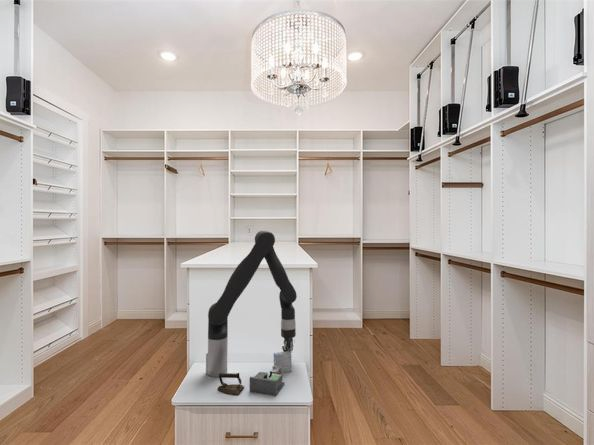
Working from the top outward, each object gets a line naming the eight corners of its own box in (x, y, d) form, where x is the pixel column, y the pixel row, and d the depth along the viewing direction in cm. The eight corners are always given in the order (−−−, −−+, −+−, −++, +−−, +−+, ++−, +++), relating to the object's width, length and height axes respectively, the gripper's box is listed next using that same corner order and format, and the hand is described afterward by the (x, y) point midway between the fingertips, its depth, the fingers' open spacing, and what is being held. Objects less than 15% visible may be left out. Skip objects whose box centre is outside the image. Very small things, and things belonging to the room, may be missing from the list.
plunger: (266, 381, 150) (266, 371, 150) (273, 373, 158) (273, 363, 158) (281, 383, 147) (281, 373, 148) (288, 375, 156) (288, 365, 156)
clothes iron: (240, 397, 139) (234, 374, 139) (215, 401, 141) (209, 378, 140) (245, 387, 146) (240, 365, 145) (222, 391, 148) (216, 370, 147)
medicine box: (288, 368, 167) (288, 350, 167) (291, 371, 163) (291, 353, 163) (273, 370, 164) (273, 352, 165) (276, 374, 160) (276, 355, 161)
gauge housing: (249, 391, 142) (249, 377, 142) (260, 381, 153) (260, 367, 153) (275, 396, 139) (275, 381, 139) (284, 384, 149) (284, 371, 149)
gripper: (285, 323, 180) (286, 355, 179) (276, 330, 167) (277, 365, 167) (299, 324, 177) (299, 357, 177) (291, 331, 165) (291, 366, 164)
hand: (288, 360), depth 172 cm, fingers closed
